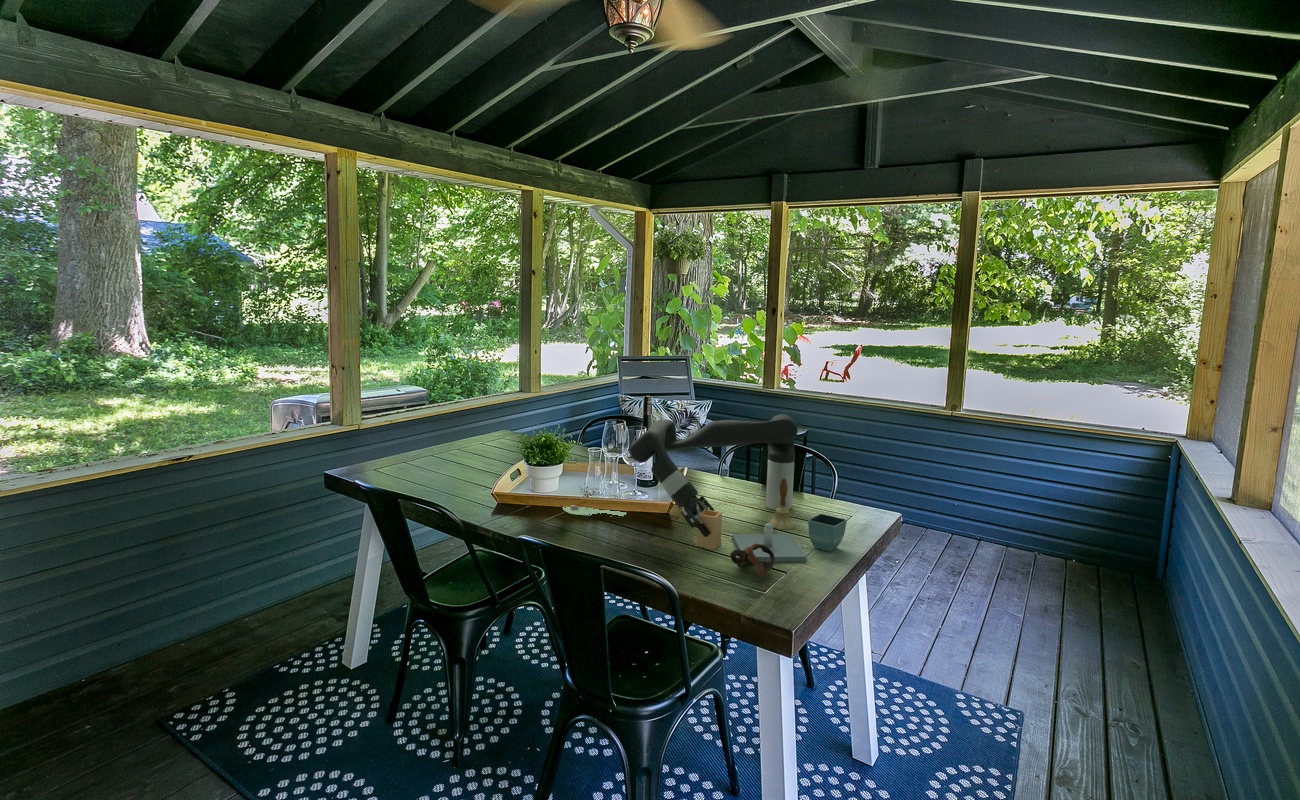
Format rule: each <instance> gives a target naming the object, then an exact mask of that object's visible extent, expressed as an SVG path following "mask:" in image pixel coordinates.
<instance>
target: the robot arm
mask: <svg viewBox="0 0 1300 800" xmlns="http://www.w3.org/2000/svg"><path fill="white" fill-rule="evenodd" d="M676 429H677V427H676V423H675V422H674V421H673V420H671V419H658V420H655V421H653V422H651V423H650V426H649V429H648V430H646V431H645V432H643V434H642V435H640V436H639V437H638V438H637V439H636V440H634V441H633V442H632V443H631V444H630V446H629V449H628V450H629V454H630V457H631V458H632V459H633V460H634V461H636V462H638V463H646V462H648V460H649V459H651V458H652V457H653V456H655V454H656V455H657V456H656V457H657V458H656V461H655V462H654V464H653V465H652V467H651V468H650V471H651V473H652V474H653V475H654V477H655V478H656V480H657V482H659V483H660V484H661V486H662V489H664V490H665V492H666V493H667V495H668V496H669V497H670V499H671V500H672V501H673V502H674V503H675V505H676V506H677V508H679V509H681V508H683V509H682V510H681V511H680V515H682V517H683V518H684V519H685V521H686V523H688V525H689V526H690V528H691V529H694V528H698V529H699V530H700V532H701V533H702V534H703V535H704V537H707V536H708V535H710V534H711V532H710V531H709V529H708V528H707V527H706V526H705V524H704V523H703V524H702V520H701V512H703V511H704V509H706V510H712V511H715V509H714V507H713V506H712V505H711V504H710V502H709V501H708V500H707V499H706V498H705V497H704V496H703V495H701V496H700V497H697V495H698V493H699V491H698V490H697V488H695V486H694V485H693V484H692V483H691V481H690V480H689V479H688V478H687V476H686V475H685V474H684V472H682V471H681V470H680V469H679V468H678V466H677V465H676V463H674V462H673V460H672V459H671V457H670V455H669V454H668V452H671V451H679V450H686V449H694V448H695V449H696V448H698V449H699V448H717V447H719V448H720V447H731V446H744V445H749V444H760V443H762V444H763V443H765V444H767V469H766V470H767V473H766V476H767V477H766V490H765V491H766V493H765V507H767V508H768V509H770V510H773V511H776V509H777V508H780V503H781V495H780V483H781V481H782V478H785V479H786V482H787V486H788V490H787V495H786V508H787V509H789V510H792V507H793V495H794V494H793V492H794V491H793V489H794V473H795V457H796V454H795V438H796V437H797V435H798V432H799V431H798V425H797V424H796V422H795V421H794V419H793V418H792V417H791V416H789V415H788V414H784V413H779V414H776V415H775V416H773V417H772V418H771V419H770V420H765V421H756V422H755V421H746V420H739V419H738V420H737V419H723V420H722V419H721V420H712V421H710V422H709V423H706V424H705V425H704V426H702V427H701V428H700V429H699V430H697V431H696V432H694V433H693V434H691V435H690V436H688V437H686V438H684V439H683V438H682V439H681V440H678V439H677V430H676Z"/></svg>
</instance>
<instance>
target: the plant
mask: <svg viewBox="0 0 1300 800" xmlns="http://www.w3.org/2000/svg"><path fill="white" fill-rule="evenodd" d="M584 485H587V483H584ZM580 488H581V486H579V489H580ZM587 489H589V486H585V487H584V488H581V489H580V490H581V491H580V494H582V498H585V497H589V496H592V497H593V495H594V493H592V490H591V491H590V490H587ZM562 511H564V512H566V513H568V514H570V515H571V514H572V515H578V516H579V515H581V516H591V515H592V514H597V513H600V514H601V513H607V514H612V515H618V516H622V517H625V516H626V515H627V513H628V512H627V513H626V512H620V511H610V510H599V509H593V508H585V507H578V506H575V505H571V507H566V508H565V507H562ZM589 514H590V515H589ZM624 515H625V516H624Z"/></svg>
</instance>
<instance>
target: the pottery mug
mask: <svg viewBox="0 0 1300 800" xmlns="http://www.w3.org/2000/svg"><path fill="white" fill-rule="evenodd" d="M758 548H761V549H762V551H763V552H765V553H768V554H769V555H770V558H771V561H769V562H763V564H761V562H760V560H759V559H758V558H757V557H756V556H755V555H754V553H753V550H756V549H758ZM729 557H730V560H731V562H733V564H735V565H737V567H738V568H739V569H741V568H742V567H743V566H742V565H743V564H744V563H751V564H753V565H754V566H755V567H757V568H756V571H755V576H756V577H758V578H759V577H762V576H763V575H764V574H766V573H768V572H770V571H771V570H773V567H774V563H775V562H774V560H775V557H774V554H773V552H772V551H771V550H770V549H769V548H768V547H767V546H765V545H762V544H753V545H752V546H750V547H747V548H746V549H745V550H740V549H737V548H736V549H733V550H732V551H731V553H730V556H729ZM737 557H738V558H737Z"/></svg>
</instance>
